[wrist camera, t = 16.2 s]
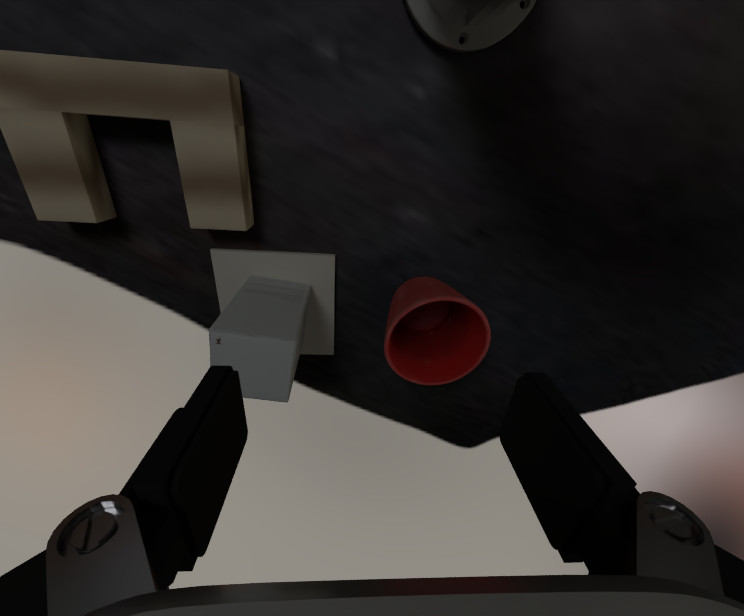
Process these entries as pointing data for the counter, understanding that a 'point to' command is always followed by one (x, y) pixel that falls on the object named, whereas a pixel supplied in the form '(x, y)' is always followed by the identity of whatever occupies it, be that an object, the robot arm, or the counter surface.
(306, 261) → the tile
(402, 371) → the flower pot
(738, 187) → the counter surface
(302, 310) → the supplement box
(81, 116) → the box dock
